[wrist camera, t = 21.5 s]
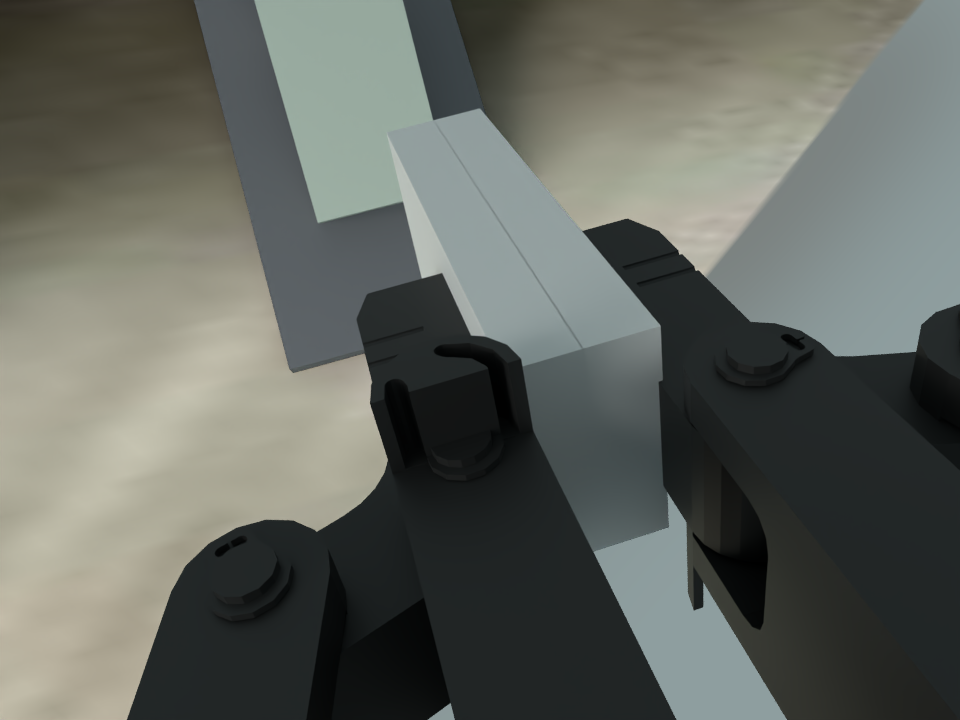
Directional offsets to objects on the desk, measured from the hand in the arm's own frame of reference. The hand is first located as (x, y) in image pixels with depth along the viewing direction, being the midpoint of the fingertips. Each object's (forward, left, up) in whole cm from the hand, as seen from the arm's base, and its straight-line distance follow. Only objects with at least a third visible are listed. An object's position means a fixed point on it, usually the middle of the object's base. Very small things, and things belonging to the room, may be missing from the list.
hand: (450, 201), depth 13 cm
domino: (0, +7, -17) cm, 18 cm away
